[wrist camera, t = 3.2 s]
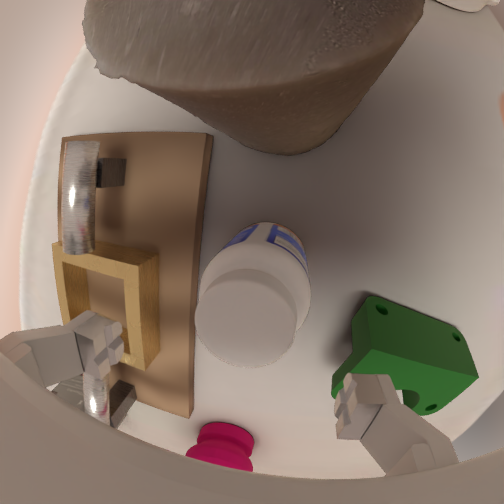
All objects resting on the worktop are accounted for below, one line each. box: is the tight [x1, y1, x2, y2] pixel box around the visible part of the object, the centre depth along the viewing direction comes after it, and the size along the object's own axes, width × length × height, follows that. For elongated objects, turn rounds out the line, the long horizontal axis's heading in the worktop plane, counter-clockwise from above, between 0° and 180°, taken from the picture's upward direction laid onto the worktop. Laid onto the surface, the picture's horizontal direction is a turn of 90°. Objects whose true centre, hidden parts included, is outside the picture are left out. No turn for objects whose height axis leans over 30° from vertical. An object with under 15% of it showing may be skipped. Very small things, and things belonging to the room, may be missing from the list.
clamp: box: [331, 296, 479, 416], centre depth 17 cm, size 12×6×9 cm, turn 65°
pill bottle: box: [195, 222, 311, 368], centre depth 15 cm, size 5×5×10 cm
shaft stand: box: [52, 132, 213, 429], centre depth 18 cm, size 26×14×9 cm, turn 172°
